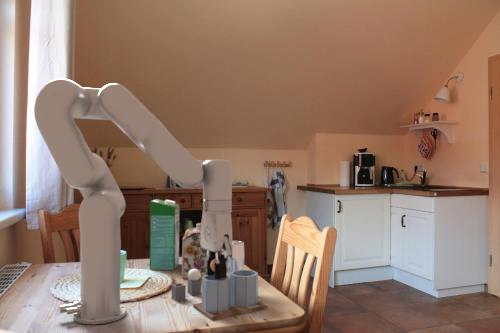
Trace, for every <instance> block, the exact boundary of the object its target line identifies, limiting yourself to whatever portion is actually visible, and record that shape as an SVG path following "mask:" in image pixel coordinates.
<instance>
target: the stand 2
mask: <svg viewBox="0 0 500 333" xmlns="http://www.w3.org/2000/svg"><path fill="white" fill-rule="evenodd" d="M186 293H187V294H189V295H190V296H196V295H202V280H199V279H198V280H197V281H191V280H190V279H187V292H186Z"/></svg>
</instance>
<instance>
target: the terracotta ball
mask: <svg viewBox="0 0 500 333" xmlns="http://www.w3.org/2000/svg"><path fill="white" fill-rule="evenodd" d="M215 263H216V258H215V259H213V260H212V261H211V264H210V267H211V269H212V271H214V270H215Z"/></svg>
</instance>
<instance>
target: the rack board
mask: <svg viewBox="0 0 500 333" xmlns="http://www.w3.org/2000/svg"><path fill="white" fill-rule="evenodd" d="M192 305H193V306H192V307H193V309H195V310H197V311H198V312H199V313H201V314H202V315H204V317H207V318H208V319H209V320H211V321H215V320H221V319H226V318H231V317H235V316H240V315H243V314H249V313H254V312H258V311H264V310H267V309H268V305H266V304H265V303H263V302H261V301H259V300H258V302H257V304H256V305H254V306H249V307H238V306H234V305H232V304H231V308H230V309H229V310H228V311H224V312H219V313H213V312H206V311H204V310H203V309H202V302H199V303H193V304H192Z"/></svg>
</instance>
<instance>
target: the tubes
mask: <svg viewBox="0 0 500 333" xmlns="http://www.w3.org/2000/svg"><path fill="white" fill-rule="evenodd" d="M258 286H259V273H258V272H257V271H255V270H251V269H243V270H236V271H232V272H231V273H230V276H229V275H227V274H226V278H221V279H215V278H214V275H205V276H203V277H202V280H201V303H202V309H203V310H204V311H206V312H213V313H219V312H224V311H228V310H229V309H230V308H231V304H232V305H234V306H238V307H249V306H254V305H256V304H257V302H258V301H259V297H258V296H259V292H258V291H259V289H258V288H259V287H258Z"/></svg>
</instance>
